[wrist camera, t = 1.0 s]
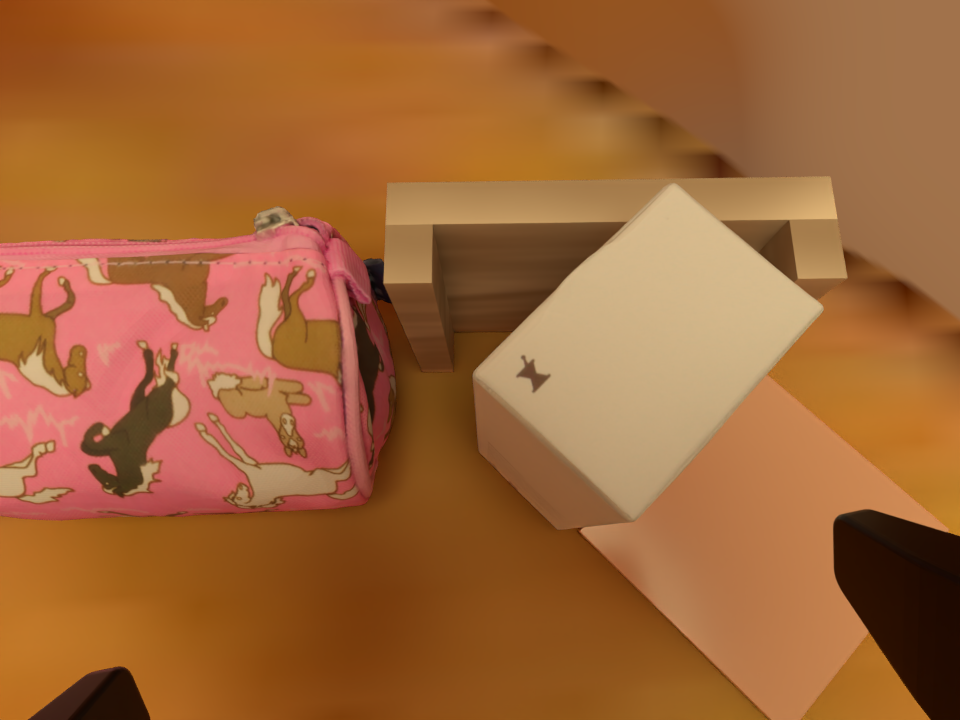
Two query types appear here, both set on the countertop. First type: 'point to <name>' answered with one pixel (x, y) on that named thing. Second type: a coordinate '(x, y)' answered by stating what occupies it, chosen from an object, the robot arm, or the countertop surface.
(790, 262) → the shallow wooden tray
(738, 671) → the tile
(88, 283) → the pencil case
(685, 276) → the skincare box
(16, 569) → the countertop surface
